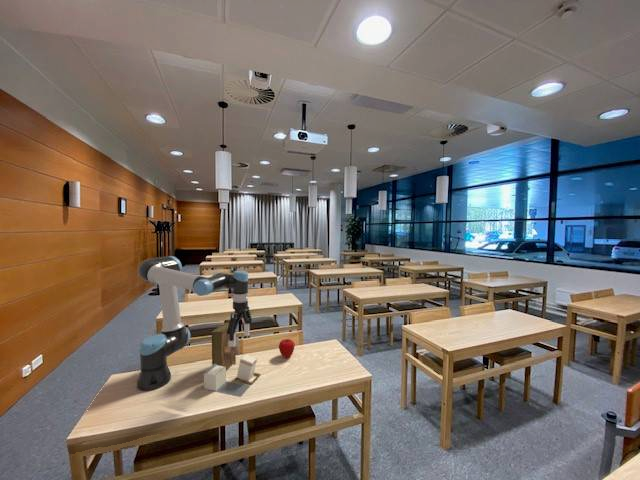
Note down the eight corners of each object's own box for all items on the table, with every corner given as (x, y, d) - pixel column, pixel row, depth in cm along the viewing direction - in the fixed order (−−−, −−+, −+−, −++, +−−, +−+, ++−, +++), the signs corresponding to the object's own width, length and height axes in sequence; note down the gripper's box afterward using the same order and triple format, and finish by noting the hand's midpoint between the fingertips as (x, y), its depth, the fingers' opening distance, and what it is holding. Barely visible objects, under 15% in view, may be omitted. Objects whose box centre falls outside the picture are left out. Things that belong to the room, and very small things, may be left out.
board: (201, 391, 132) (201, 388, 132) (213, 380, 141) (213, 378, 141) (240, 399, 126) (240, 396, 126) (250, 388, 135) (250, 385, 135)
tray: (234, 383, 139) (234, 379, 139) (243, 374, 147) (243, 370, 147) (252, 386, 136) (252, 382, 136) (260, 377, 144) (260, 373, 144)
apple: (276, 358, 165) (275, 341, 165) (284, 351, 174) (284, 335, 173) (289, 361, 161) (289, 344, 161) (297, 354, 170) (297, 337, 169)
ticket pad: (203, 388, 132) (203, 371, 132) (214, 379, 140) (214, 363, 139) (215, 391, 130) (215, 374, 130) (226, 381, 138) (225, 365, 138)
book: (228, 361, 161) (228, 321, 159) (236, 362, 160) (236, 321, 158) (212, 376, 145) (211, 331, 143) (221, 377, 143) (220, 332, 142)
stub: (236, 377, 140) (240, 358, 139) (241, 372, 145) (245, 353, 144) (248, 382, 138) (252, 363, 137) (253, 377, 143) (257, 358, 142)
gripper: (233, 308, 125) (232, 352, 126) (258, 295, 149) (257, 332, 150) (219, 307, 127) (218, 350, 128) (246, 294, 151) (246, 330, 152)
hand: (239, 340), depth 139 cm, fingers open, 13 cm apart
